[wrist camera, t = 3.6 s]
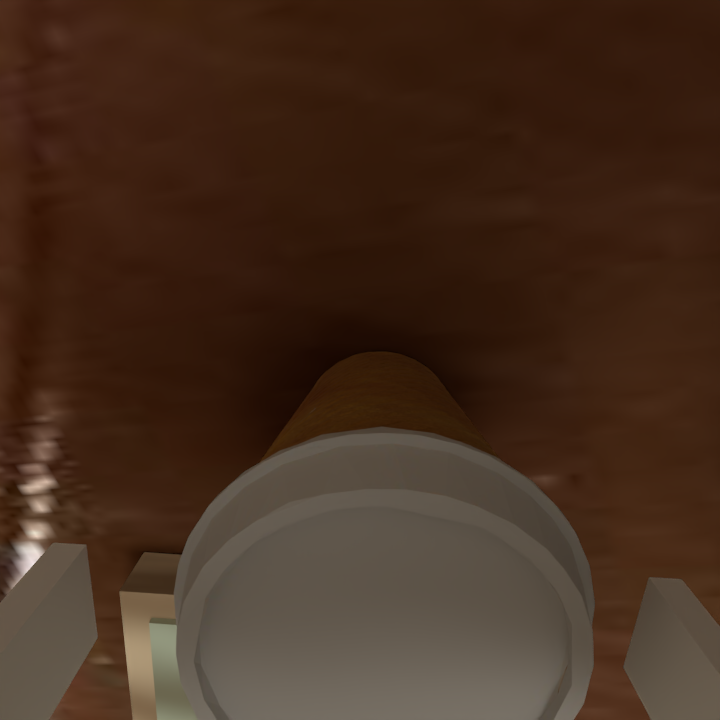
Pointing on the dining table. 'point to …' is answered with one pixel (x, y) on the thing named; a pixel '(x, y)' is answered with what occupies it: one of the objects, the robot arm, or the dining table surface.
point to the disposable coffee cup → (383, 570)
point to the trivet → (153, 640)
